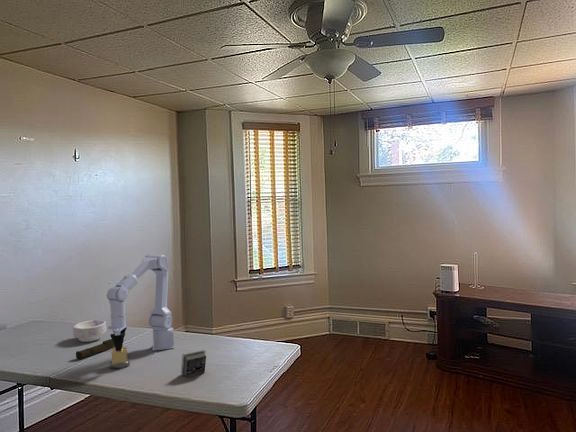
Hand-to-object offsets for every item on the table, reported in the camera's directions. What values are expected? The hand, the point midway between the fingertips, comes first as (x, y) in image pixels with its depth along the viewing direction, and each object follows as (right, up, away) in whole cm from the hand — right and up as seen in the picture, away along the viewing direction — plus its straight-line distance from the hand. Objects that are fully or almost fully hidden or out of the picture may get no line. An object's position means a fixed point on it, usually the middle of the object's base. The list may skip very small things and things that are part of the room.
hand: (119, 347), depth 181 cm
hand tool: (-17, -8, +17) cm, 26 cm away
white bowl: (-30, -8, +38) cm, 49 cm away
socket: (0, -6, 0) cm, 6 cm away
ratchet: (-2, -8, +6) cm, 10 cm away
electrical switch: (+34, -8, -10) cm, 36 cm away
